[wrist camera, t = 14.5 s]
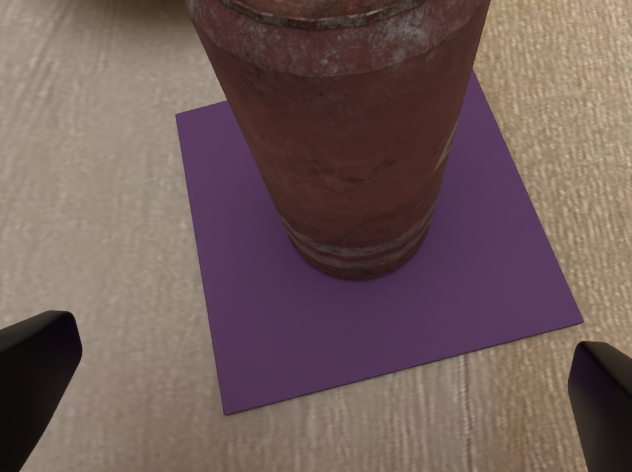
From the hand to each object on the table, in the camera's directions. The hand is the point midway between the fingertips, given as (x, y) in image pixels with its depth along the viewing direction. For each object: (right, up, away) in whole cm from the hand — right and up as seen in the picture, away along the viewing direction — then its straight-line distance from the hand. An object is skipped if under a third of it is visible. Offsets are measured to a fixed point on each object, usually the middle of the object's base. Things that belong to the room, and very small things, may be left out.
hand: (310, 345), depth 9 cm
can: (+2, +3, +13) cm, 13 cm away
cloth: (+2, +3, +13) cm, 14 cm away
